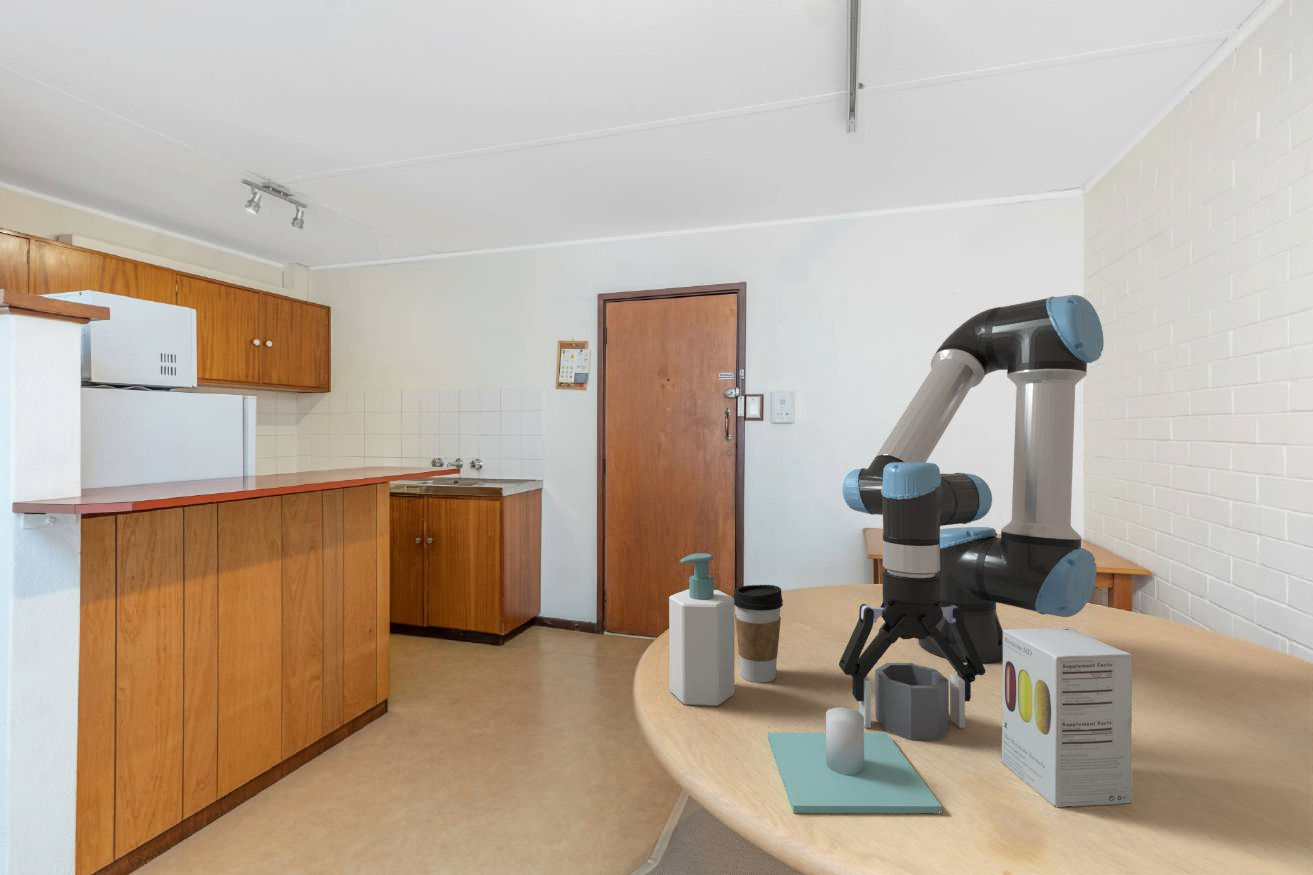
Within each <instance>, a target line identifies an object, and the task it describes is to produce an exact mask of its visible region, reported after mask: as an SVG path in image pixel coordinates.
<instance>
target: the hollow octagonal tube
mask: <svg viewBox="0 0 1313 875" xmlns="http://www.w3.org/2000/svg"><path fill="white" fill-rule="evenodd" d="M874 678H875V679H874V682H875V683H874V686H875V687H874V689H875V692H874V696H875V698H874V701H875V702H874V703H875V708H874V709H875V716H874V717H875V719H876V721H877V722H878V724H879V725H880V726H881V727H882V729H883V730H884V731H885V732H888V733H891V734H894V735H897V736H899V737H902V738H904V739H907V740H910V741H940V739H942V737H943V736H944V735H945V734H947V733H949V731H950V730H949V729H950V726H949V725H950V724H949V722H950V701H949V700H950V679H948V678H947V677H946V676H945V675H943V674H942V673H941V672H940V671H939V670H937V669H935V668H933V667H927V666H924V665H920V664H916V663H912V662H886V663H884V664H882V665H881V666H879V667H877V668H876V669H875V670H874Z"/></svg>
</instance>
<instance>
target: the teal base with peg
mask: <svg viewBox="0 0 1313 875" xmlns="http://www.w3.org/2000/svg"><path fill="white" fill-rule="evenodd" d="M767 741H768V743H769V747H770V749H771V752H772V754H773V758H774V760H775V764H776V766H777V767H776V768H777V769H778V772H779V775H780V778H781V781H782V784H783V786H784V790H785V792H786V795H787V798H788V802H789V804H790V807H791V810H792V813H793V814H900V815H901V814H903V815H904V814H905V813H906V814H907V813H909V814H910V813H911V814H913V813H914V814H915V815H916V813H918V814H919V813H939V812H940V813H942V811H943V810H942V809H943V807H942V805H941V803H940V802H939V801H938V800H937V798H936V797H935V796H934V794H933V793H932V791H931V790H930V789H929V787H928V786H927V785H926V783H925V782H924V780H923V779H922V778H921V776H920V775H919V774H918V772H916V770H915V769H914V767H913V766H912V764H910V762H909V760H907V758H906V757H905V755H904V754H903V753H902V752H901V750H900V749H899V747H898V745H897V744H896V743H895V742H894V740H892V738H891V736H890V735H889V734H888V733H887V732H886V731H885V732H882V731H881V732H872V731H871V732H870V731H869V732H868V731H867V732H865V726H864V717H863V715H862V714H860V713H859V711H857V710H855V709H851V708H847V707H833V708H830V709H828V710H826V713H825V731H821V732H820V731H819V732H817V731H816V732H814V731H813V732H811V731H810V732H808V731H806V732H805V731H801V732H800V731H796V732H795V731H794V732H793V731H792V732H791V731H789V732H787V731H785V732H784V731H778V732H777V731H775V732H774V731H773V732H772V731H771V732H769V731H767ZM942 814H943V813H942ZM907 815H908V814H907Z"/></svg>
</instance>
